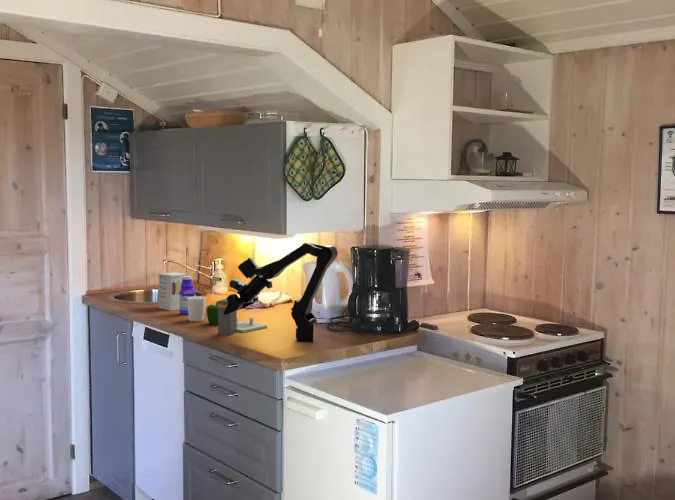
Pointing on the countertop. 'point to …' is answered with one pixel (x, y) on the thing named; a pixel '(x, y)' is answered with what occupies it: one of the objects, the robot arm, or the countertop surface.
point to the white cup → (196, 308)
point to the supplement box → (169, 290)
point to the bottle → (185, 294)
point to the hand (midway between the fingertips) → (229, 312)
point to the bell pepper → (212, 313)
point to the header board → (248, 326)
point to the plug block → (226, 319)
